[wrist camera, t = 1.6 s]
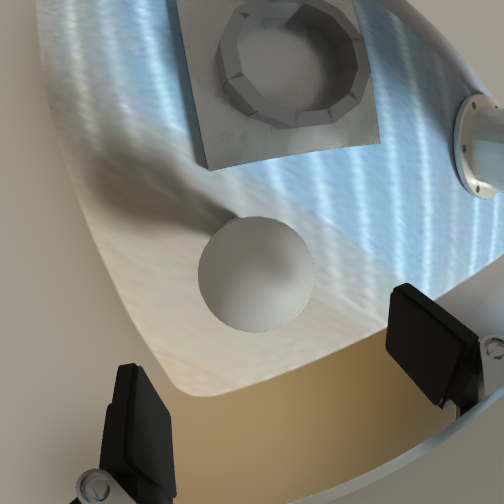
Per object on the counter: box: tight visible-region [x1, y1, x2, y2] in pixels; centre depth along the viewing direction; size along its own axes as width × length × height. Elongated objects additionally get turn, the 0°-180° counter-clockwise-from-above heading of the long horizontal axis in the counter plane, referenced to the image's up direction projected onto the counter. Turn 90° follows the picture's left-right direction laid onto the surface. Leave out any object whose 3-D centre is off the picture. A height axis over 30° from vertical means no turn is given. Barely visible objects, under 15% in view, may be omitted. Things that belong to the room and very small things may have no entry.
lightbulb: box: [198, 217, 315, 333], centre depth 18 cm, size 6×6×11 cm
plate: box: [176, 0, 380, 171], centre depth 18 cm, size 14×14×1 cm
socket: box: [216, 0, 371, 129], centre depth 17 cm, size 10×10×3 cm
